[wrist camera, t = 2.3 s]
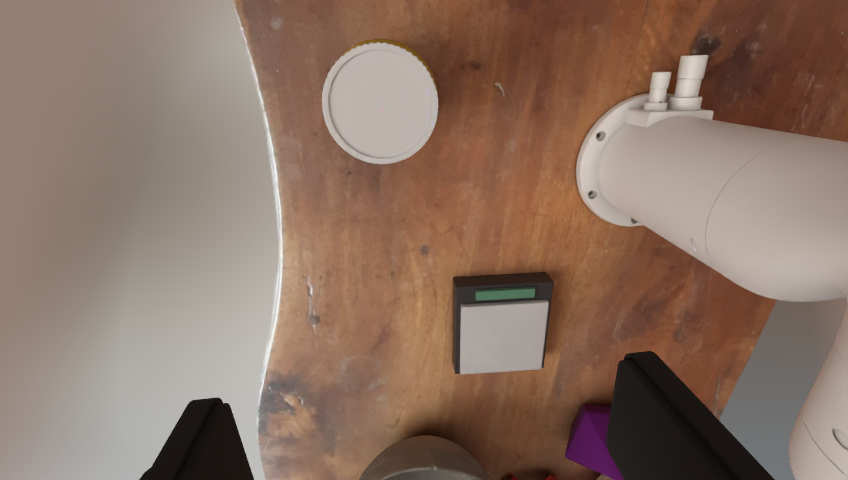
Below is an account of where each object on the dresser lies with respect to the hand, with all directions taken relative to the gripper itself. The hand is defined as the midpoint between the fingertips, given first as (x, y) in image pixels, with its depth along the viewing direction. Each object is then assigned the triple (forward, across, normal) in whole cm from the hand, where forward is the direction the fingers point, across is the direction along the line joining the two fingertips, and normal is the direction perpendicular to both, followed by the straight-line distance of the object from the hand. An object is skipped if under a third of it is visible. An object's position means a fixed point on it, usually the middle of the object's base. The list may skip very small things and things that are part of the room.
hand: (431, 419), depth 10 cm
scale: (+30, -10, +18) cm, 36 cm away
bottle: (+30, 0, -6) cm, 31 cm away
